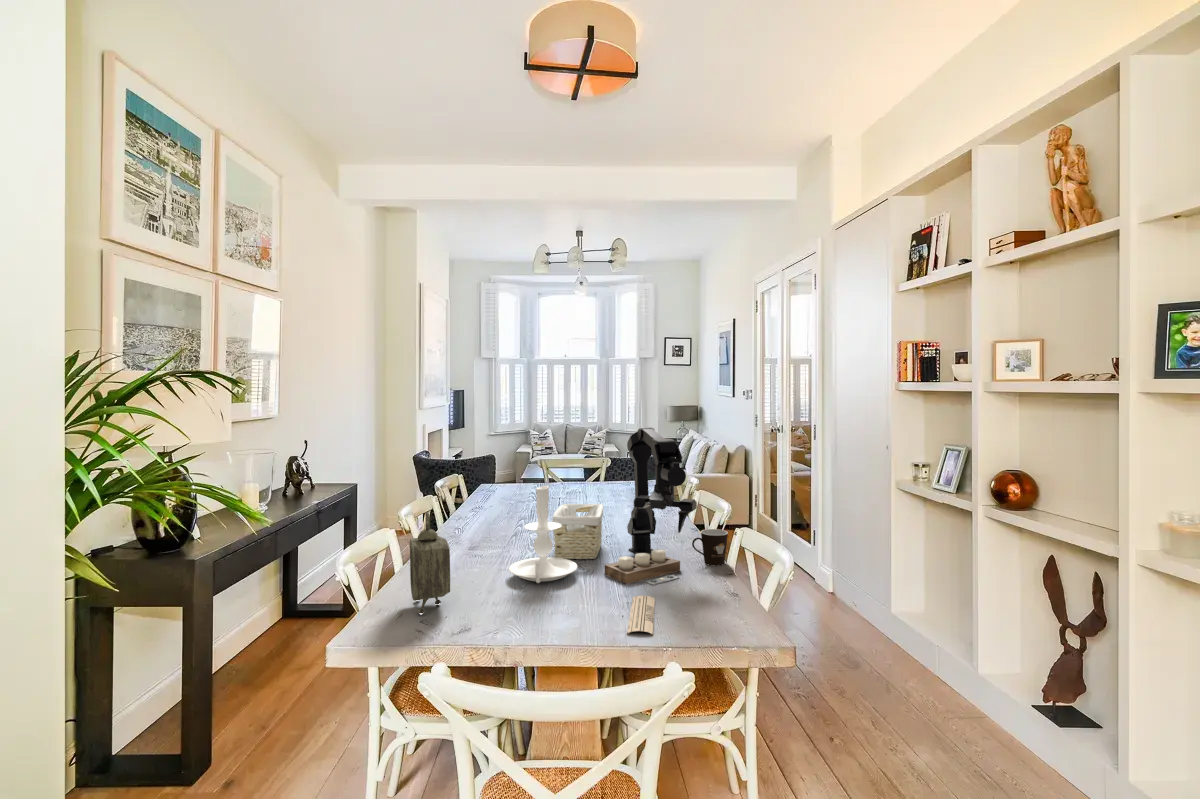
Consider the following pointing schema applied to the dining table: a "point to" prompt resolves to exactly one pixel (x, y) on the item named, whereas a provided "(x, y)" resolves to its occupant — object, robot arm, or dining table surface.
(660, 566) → the wooden compartment tray
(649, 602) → the newspaper
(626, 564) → the button
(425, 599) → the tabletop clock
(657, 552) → the button
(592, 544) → the storage basket
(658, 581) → the card
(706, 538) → the coffee mug
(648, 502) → the robot arm
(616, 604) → the dining table surface
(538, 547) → the candlestick
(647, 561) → the button
